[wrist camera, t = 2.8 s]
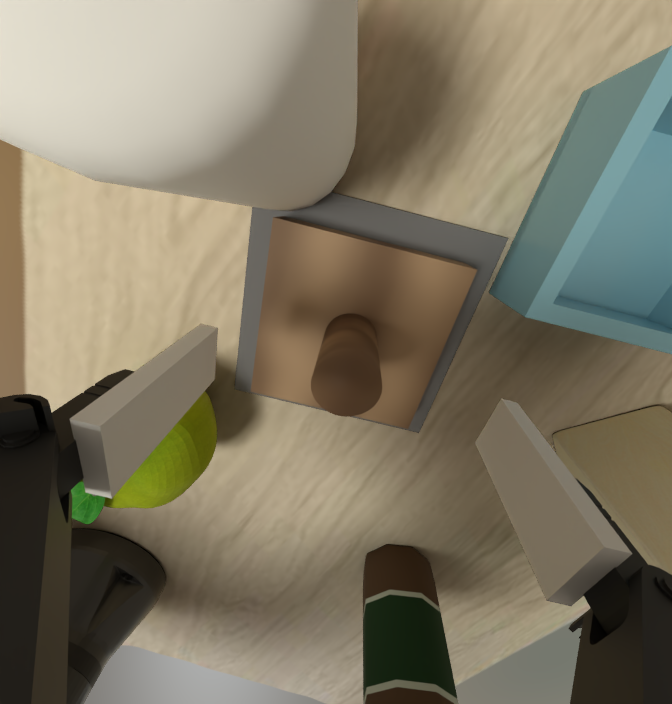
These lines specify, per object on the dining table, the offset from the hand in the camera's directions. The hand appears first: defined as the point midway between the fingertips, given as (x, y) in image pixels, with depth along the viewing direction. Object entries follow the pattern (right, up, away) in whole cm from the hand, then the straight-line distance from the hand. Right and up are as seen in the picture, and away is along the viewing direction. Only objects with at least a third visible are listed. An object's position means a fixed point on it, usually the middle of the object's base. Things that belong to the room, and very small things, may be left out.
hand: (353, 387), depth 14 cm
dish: (+16, +9, +4) cm, 19 cm away
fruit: (-14, -2, +13) cm, 19 cm away
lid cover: (0, +4, +8) cm, 9 cm away
